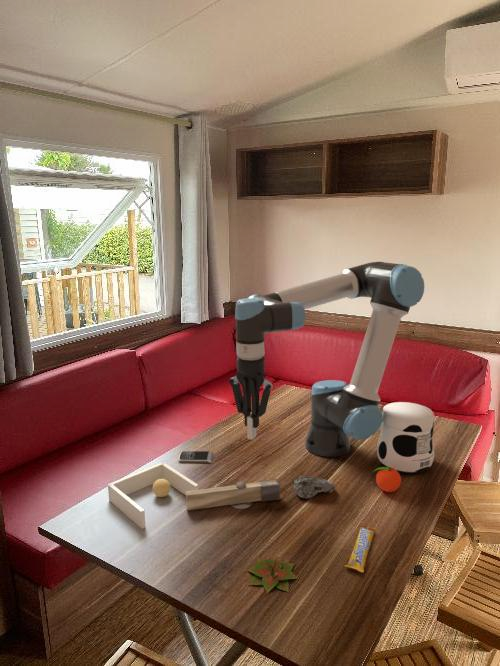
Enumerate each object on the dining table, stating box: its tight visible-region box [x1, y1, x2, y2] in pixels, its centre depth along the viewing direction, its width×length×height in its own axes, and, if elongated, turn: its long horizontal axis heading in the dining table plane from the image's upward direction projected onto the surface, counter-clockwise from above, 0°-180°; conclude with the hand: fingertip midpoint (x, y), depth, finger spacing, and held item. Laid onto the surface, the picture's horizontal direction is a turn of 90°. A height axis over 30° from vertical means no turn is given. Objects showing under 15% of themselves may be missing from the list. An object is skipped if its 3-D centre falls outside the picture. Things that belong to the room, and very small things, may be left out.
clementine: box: [373, 466, 402, 493], centre depth 140 cm, size 8×7×7 cm
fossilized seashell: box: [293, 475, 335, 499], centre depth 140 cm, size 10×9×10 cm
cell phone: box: [178, 450, 214, 464], centre depth 160 cm, size 6×11×1 cm, turn 89°
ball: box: [152, 479, 171, 498], centre depth 138 cm, size 5×5×5 cm
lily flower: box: [246, 554, 299, 594], centre depth 108 cm, size 12×12×5 cm
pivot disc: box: [230, 502, 253, 510], centre depth 135 cm, size 6×6×1 cm
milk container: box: [376, 401, 435, 474], centre depth 153 cm, size 17×17×18 cm
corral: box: [107, 461, 199, 530], centre depth 136 cm, size 18×18×5 cm
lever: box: [185, 478, 281, 511], centre depth 134 cm, size 3×26×5 cm, turn 103°
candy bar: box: [344, 524, 376, 574], centre depth 116 cm, size 17×4×2 cm, turn 156°
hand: (252, 437), depth 137 cm, fingers closed
